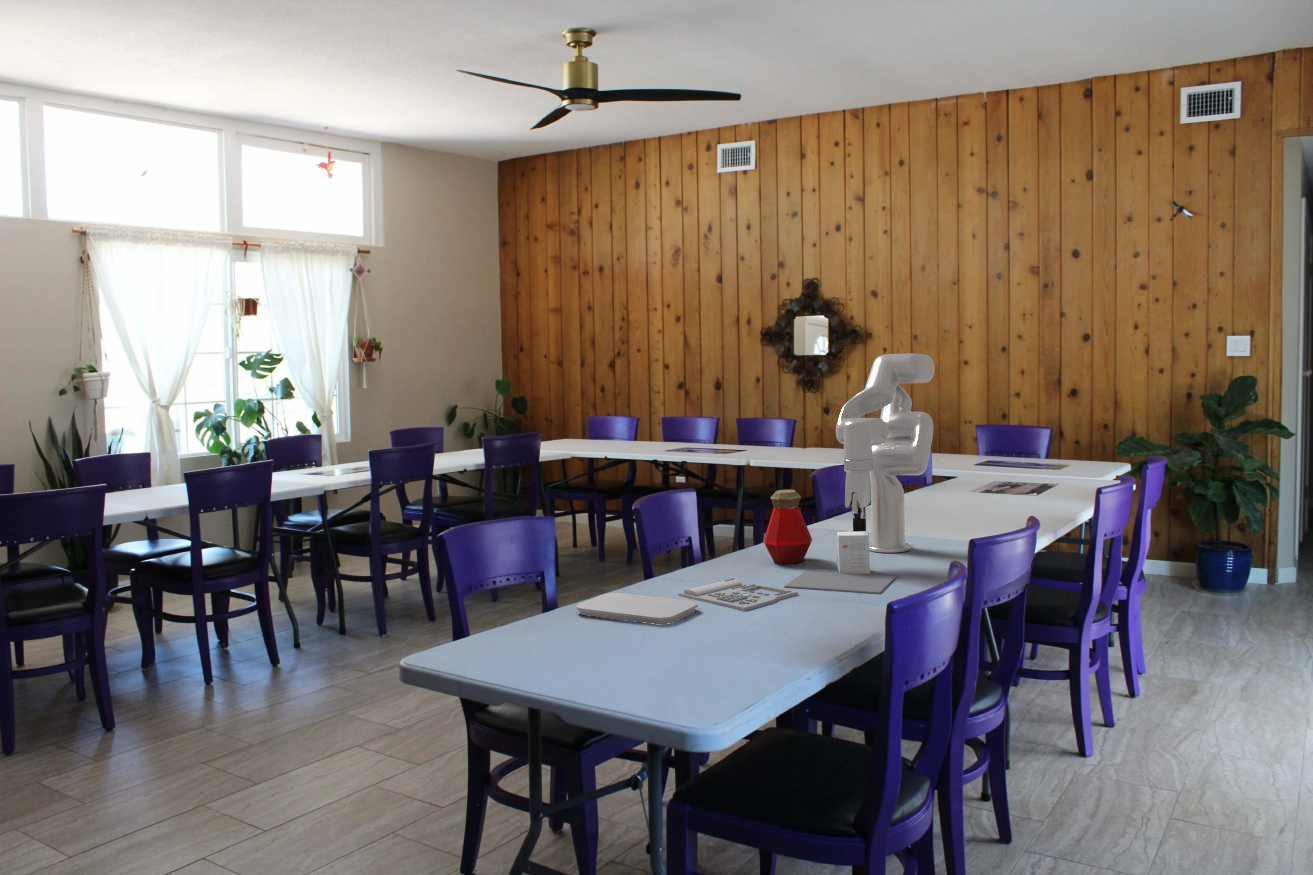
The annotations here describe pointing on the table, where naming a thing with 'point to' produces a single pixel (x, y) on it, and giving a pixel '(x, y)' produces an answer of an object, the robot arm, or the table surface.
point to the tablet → (637, 608)
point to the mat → (841, 582)
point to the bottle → (787, 529)
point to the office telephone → (737, 594)
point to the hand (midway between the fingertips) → (859, 532)
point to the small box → (853, 552)
